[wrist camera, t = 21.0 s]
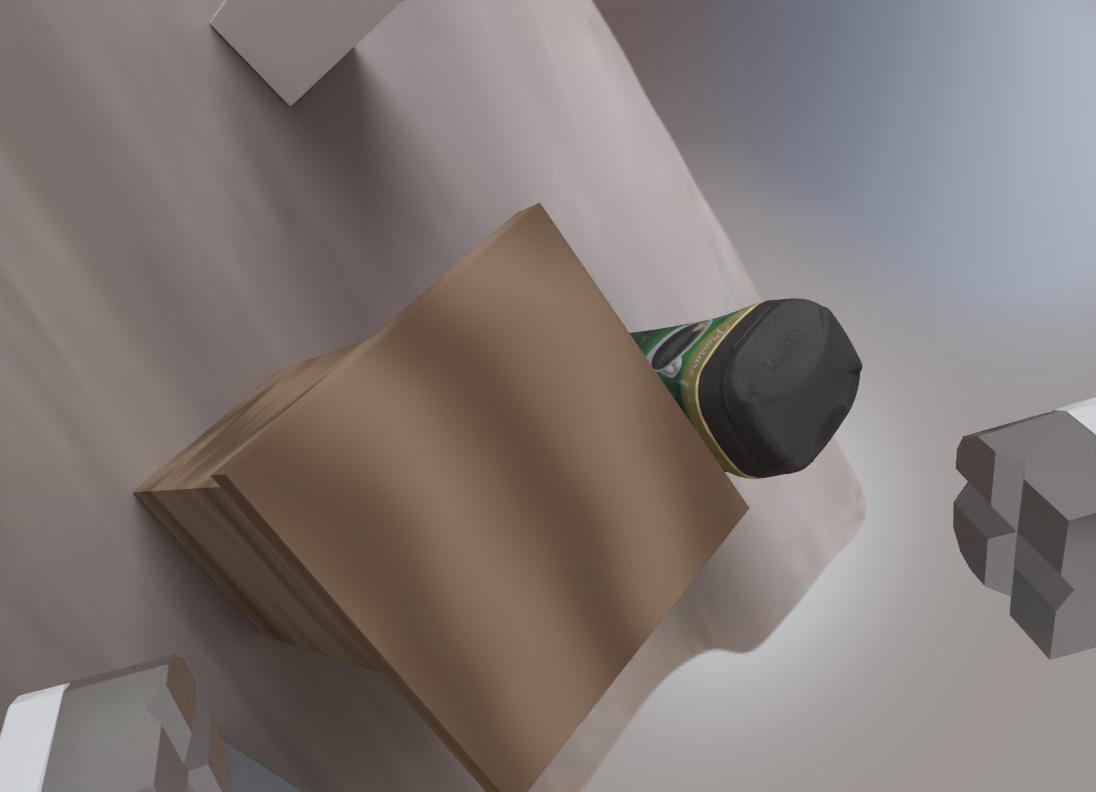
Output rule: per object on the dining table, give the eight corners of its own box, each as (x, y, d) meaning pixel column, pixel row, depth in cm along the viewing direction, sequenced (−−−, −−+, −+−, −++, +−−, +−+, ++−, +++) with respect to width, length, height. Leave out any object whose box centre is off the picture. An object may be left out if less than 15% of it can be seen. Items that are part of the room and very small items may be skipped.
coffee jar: (590, 505, 67) (807, 505, 52) (519, 411, 65) (723, 381, 50) (675, 409, 72) (897, 382, 56) (611, 318, 70) (824, 264, 54)
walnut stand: (257, 689, 55) (514, 807, 33) (71, 488, 51) (225, 474, 29) (437, 508, 61) (749, 508, 40) (285, 318, 57) (539, 202, 36)
